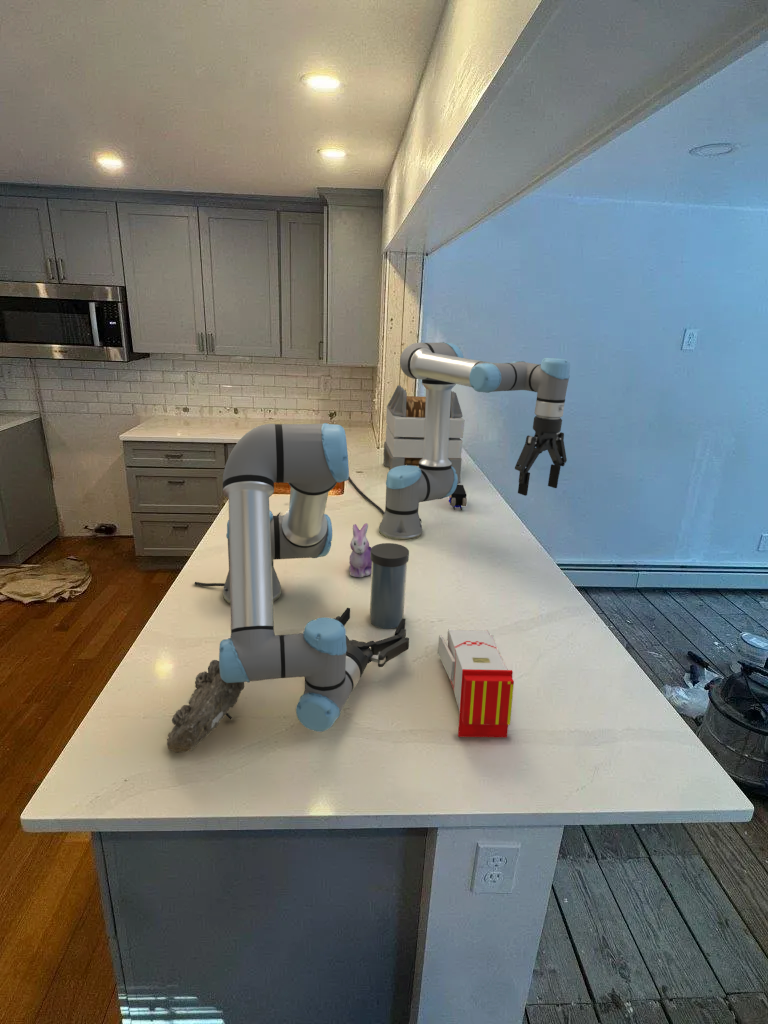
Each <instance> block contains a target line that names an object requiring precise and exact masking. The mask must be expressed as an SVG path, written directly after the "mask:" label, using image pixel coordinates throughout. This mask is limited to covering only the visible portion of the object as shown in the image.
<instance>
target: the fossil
mask: <svg viewBox="0 0 768 1024" xmlns="http://www.w3.org/2000/svg"><path fill="white" fill-rule="evenodd" d="M194 684H195V685H194V687H195V689H194V690H193V693H192V694H191V697H190V698H189V700H188V704H184V705H182V706H181V707H180V709H177V710H176V711H175V713H174V715H173V716H172V718H171V723H172V724H173V727H172V730H171V731H170V732H168V734H167V738H166V741H167V742H166V745H167V749H168V750H169V751H173V752H174V753H176V754H178V753H182V752H188V751H189V752H192V751H193V750H195V748H196V747H197V746H199V744H200V743H201V742H203V741H204V740H205V739H206V738H207V737H208V736H209V735H210V734H211V733H212V732H214V730H215V729H217V727H218V726H219V724H220V722H221V721H222V720H223V719H224V718H225V716H226V717H227V719H229V720H233V717H232V715H230V714H229V710H230V709H231V708H234V706H235V704H236V703H237V702H238V699H239V697H240V695H241V693H242V691H243V690H245V689H244V688H245V682H235V683H226V682H224V681H223V680H222V679H221V676H220V668H219V660H217V659H212V660H211V661H210V663H209V665H208V666H207V671H201V672H199V673H198V674H197V675H196V676H195V680H194Z"/></svg>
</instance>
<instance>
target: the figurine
mask: <svg viewBox="0 0 768 1024" xmlns="http://www.w3.org/2000/svg"><path fill="white" fill-rule="evenodd" d="M368 529H369V524H368V523H367V522H366V523H364V524H363V525H362V527H361V528H360V529H359V526H358V525H357V524H356V523H354V524H352V538H351V541H350V544H349V546H350V549H351V553H350V555H349V567H348V572H349V575H350V576H351V577H355V578H363V577H368V576H371V567H372V561H371V559H370V555H371V548H372V547H371V546H370V542H369V540H368V537H367V533H368Z"/></svg>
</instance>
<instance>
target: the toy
mask: <svg viewBox="0 0 768 1024" xmlns="http://www.w3.org/2000/svg"><path fill="white" fill-rule="evenodd" d="M446 640H447V643H446V641H445V639H444V636H443V635H442V634H439V637H438V646H437V656H438V657H439V659H440V661H441V663H442V666H443V668H444V670H445V672H446V674H447V677H448V679H449V681H450V684H451V687H452V690H453V693H454V697H455V701H456V705H457V708H458V711H459V714H458V715H459V716H458V730H457V731H458V732H457V737H458V738H508V731H509V726H510V725H511V717H512V707H513V697H514V696H513V695H514V684H515V680H514V679H513V673H514V671H513V670H512V669H508V667H507V665H506V662H505V661H504V659H503V658H502V655H501V653H500V651H499V649H498V647H497V643H496V639H495V637H494V635H493V634H491V632H490V631H489V629H467V628H466V629H465V628H463V629H461V628H460V629H459V628H448V630H447V639H446Z"/></svg>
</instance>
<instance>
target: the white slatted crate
mask: <svg viewBox="0 0 768 1024" xmlns="http://www.w3.org/2000/svg"><path fill="white" fill-rule="evenodd" d="M407 394H408V393H407V390H406V389H404V388H403V387H402V385H399V384H398V385H397V386H396V388H395V390H394V392H393V394H392V395H391V398H390V400H389V402H388V404H387V405H386V413H385V414H386V415H385V423H386V428H385V438H384V442H383V466H384V467H388V468H389V471H390V470H391V469H392V468H394V467H397V466H403V465H405V466H408V465H413V466H417V467H419V461H420V460H421V459H422V458H423V455H424V429H425V403H426V396H415V395H414V396H413V395H412V396H411V395H407ZM464 429H465V419H464V418H463V411H462V408H461V405H460V402H459V398H458V395H457V392H455V391H453V390H451V403H450V422H449V442H448V459H449V460H450V461H451V463H452V467H453V468H454V469H455V471H456V474H457V477H458V483H457V484H459V483H461V472H462V461H463V460H462V453H463V442H464V441H463V440H462V439H463V438H464V431H465V430H464Z"/></svg>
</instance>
